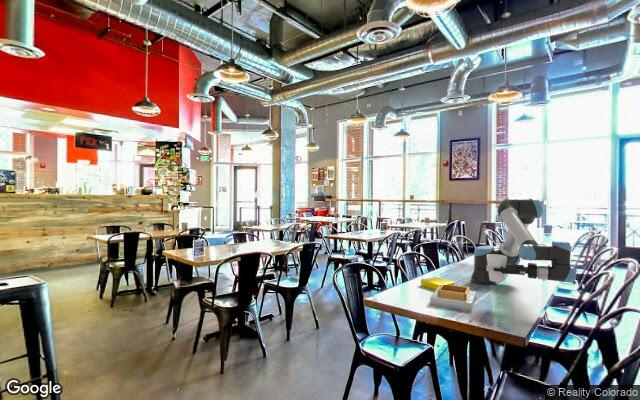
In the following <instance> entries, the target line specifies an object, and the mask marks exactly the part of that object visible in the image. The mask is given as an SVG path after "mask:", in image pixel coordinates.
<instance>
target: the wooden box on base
mask: <svg viewBox="0 0 640 400" xmlns="http://www.w3.org/2000/svg"><path fill="white" fill-rule="evenodd" d="M476 300H477V291H475V290H471V287H469V286H464V285H463V286H462V285H455V284H454V285H448V284H442V285H441V286H439V287H438V288H437V289H436V291H435V290H434V291H433V293H432V294H431V295H430V299H429V305H430V306H435V307H442V308H448V309H455V310H461V311H467V312H472V311H473V308H474V305H475V303H476Z"/></svg>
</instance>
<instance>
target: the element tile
mask: <svg viewBox="0 0 640 400" xmlns="http://www.w3.org/2000/svg"><path fill="white" fill-rule="evenodd" d="M442 284H448V285H455V282H454V281H453V280H450V279H445V278H441V277H438V276H433V277H428V278H422V279H421V280H420V286H421V287H422V288H426V289H429V290H432V291H434V292H435V291H436V289H437V288H438V287H439V286H441V285H442Z"/></svg>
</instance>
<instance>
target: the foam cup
mask: <svg viewBox="0 0 640 400" xmlns="http://www.w3.org/2000/svg"><path fill="white" fill-rule="evenodd" d="M506 262H507V256H504V255H497V254H488V255H487V263H488V266H498V267H501V266H503V268H506ZM489 279H490V281H493V282H496V283H503V282H504V279H505V274H503V273H501V272H492V271H489Z"/></svg>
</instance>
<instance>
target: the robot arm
mask: <svg viewBox="0 0 640 400" xmlns="http://www.w3.org/2000/svg"><path fill="white" fill-rule="evenodd" d="M496 211H497V212H496V213H497V216H498V218H499V219H500V221H501V222H504V224H505V225H506V227H507V228H508V232H507V234H506V236H505V239H504V242H503V243H501V244H499V246H498V248H497V247H496V248H495V247H494V246H493V245H481V246H480V245H479V246H477V247H475V248H474V252H473V253H474V254H473V255H474V256H473V265H474V266H473V271H472V275H471V277H470V281H471V282H473V283H475V284H479V285H490V286H491V285H495V284H497V282H493V281H490V279H489V271H492V272H501V273H503V274H504V275H505V274H506V275H517V276H518V275H519V276H525V275H526V274H527V278H528V279H533V280H534V279H538V280H542V281H555V282H561V283H574V282H576V280H577V270H576V267H574V266H571V254H572V253H571V252H572V248H571V243H570V242H569V241H565V240H553V241H551V244H539V243H538V242H537V241H536V239H535V238H534V237H533V235H532V234H531V232H530V230H529V229H528V227H529V225H531V224H533V223H534V221H535V219H540V218H541V217H542V216H543V212H544V211H543V205H542V202H541V200H539V198H535V197H507V198H505V199H503V200H501V202H500V203H499V204H498V207H497V210H496ZM488 254H497V255H504V256H507V262H506V268H503V266H501V267H498V266H488V263H487V255H488ZM521 260H523V261H524V260H525V261H547V262H548V261H550V262H551V264H546V263H534V262H528V263H527V266H524V265H523V264H520V263H521Z"/></svg>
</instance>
